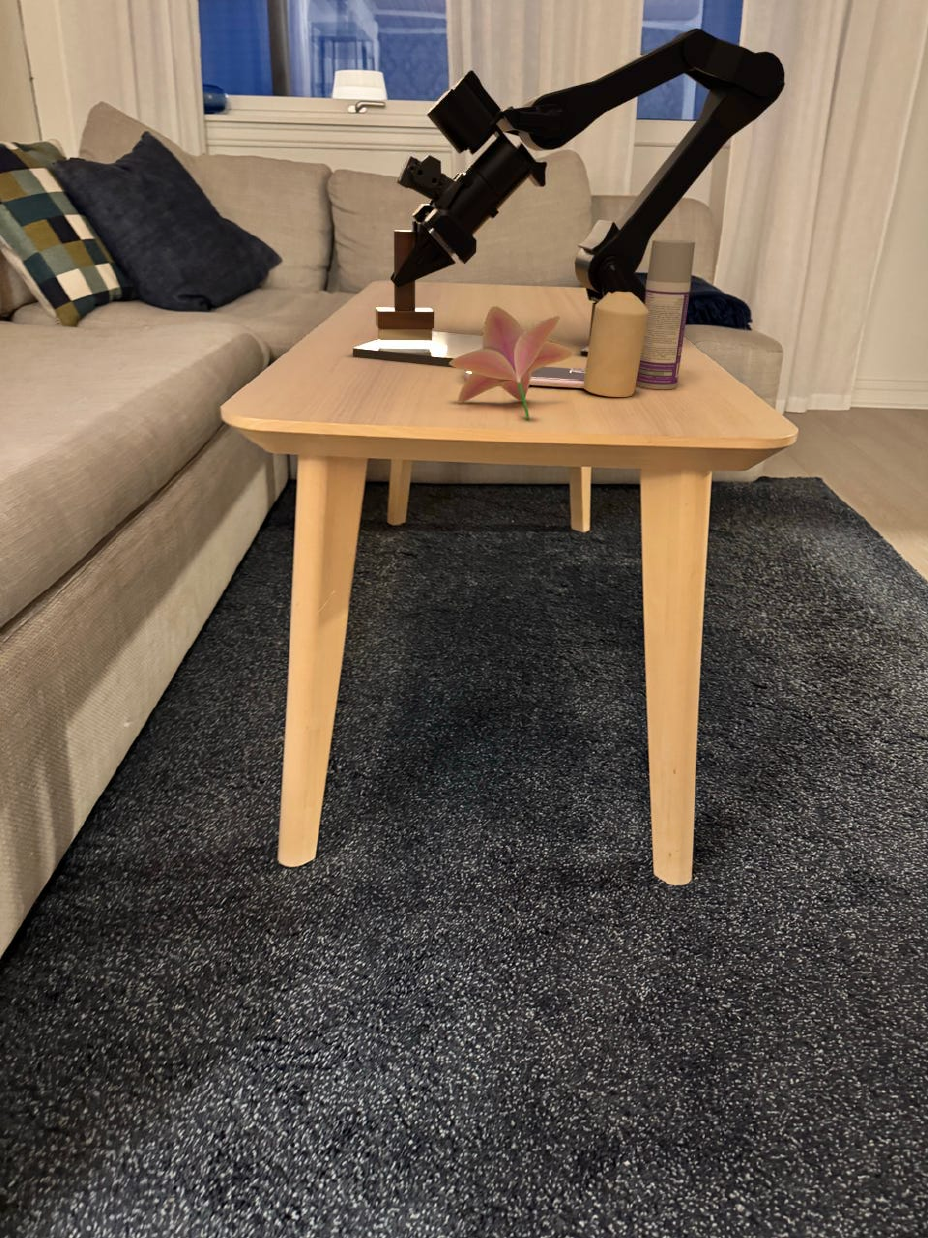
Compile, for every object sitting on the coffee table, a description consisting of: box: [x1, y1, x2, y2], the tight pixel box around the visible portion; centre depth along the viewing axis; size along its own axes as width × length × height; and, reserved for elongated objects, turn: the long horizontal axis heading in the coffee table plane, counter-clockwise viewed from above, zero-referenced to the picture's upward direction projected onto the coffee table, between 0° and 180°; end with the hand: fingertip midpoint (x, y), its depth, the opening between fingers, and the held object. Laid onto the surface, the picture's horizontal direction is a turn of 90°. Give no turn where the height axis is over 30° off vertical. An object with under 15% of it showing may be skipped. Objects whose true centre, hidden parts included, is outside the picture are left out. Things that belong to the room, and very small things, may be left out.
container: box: [636, 238, 696, 390], centre depth 99 cm, size 5×5×15 cm
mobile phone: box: [463, 366, 586, 389], centre depth 101 cm, size 8×1×15 cm
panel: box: [352, 330, 483, 368], centre depth 117 cm, size 18×15×1 cm
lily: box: [449, 305, 574, 420], centre depth 86 cm, size 12×12×10 cm
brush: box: [375, 229, 435, 341], centre depth 112 cm, size 4×7×12 cm, turn 99°
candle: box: [583, 292, 649, 398], centre depth 95 cm, size 6×6×10 cm
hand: (393, 283), depth 111 cm, fingers closed on brush, 2 cm apart
